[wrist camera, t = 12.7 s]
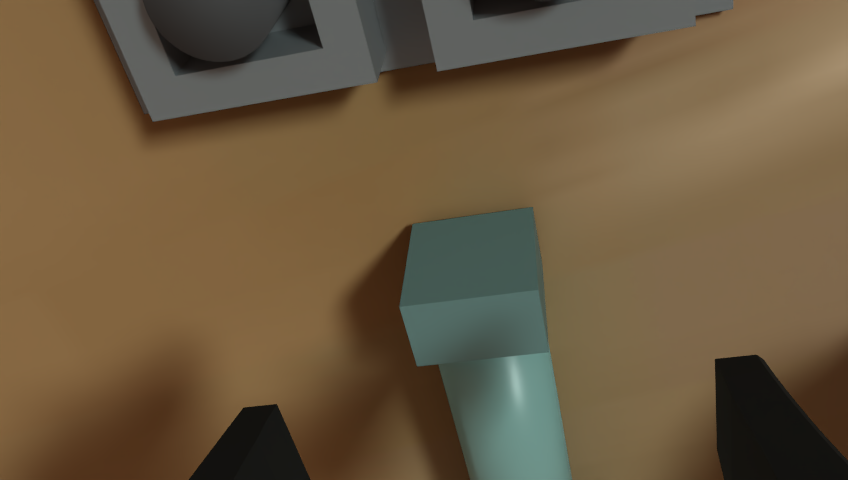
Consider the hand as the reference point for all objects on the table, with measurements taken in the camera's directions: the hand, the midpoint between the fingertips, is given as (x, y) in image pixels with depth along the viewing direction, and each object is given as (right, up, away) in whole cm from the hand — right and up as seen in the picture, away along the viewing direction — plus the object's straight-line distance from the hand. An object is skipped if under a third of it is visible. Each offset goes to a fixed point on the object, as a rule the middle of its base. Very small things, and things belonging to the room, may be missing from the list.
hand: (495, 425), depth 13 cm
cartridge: (+2, -2, +13) cm, 13 cm away
